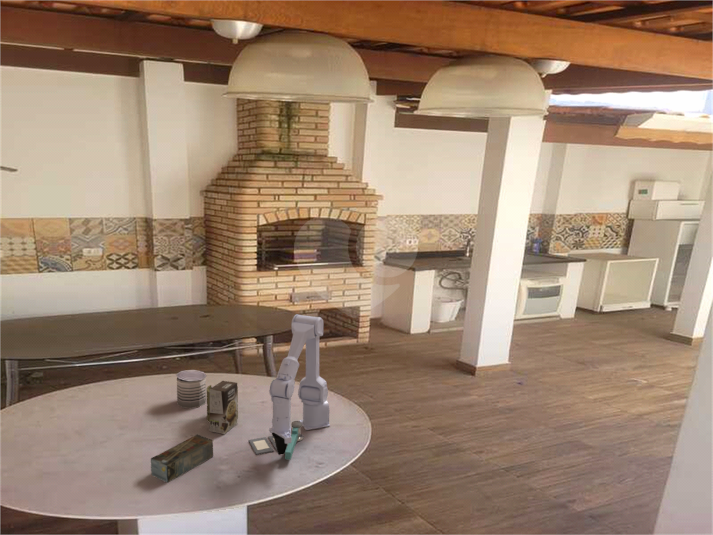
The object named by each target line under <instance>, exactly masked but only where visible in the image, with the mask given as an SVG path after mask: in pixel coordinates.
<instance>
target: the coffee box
mask: <svg viewBox="0 0 713 535" xmlns="http://www.w3.org/2000/svg"><path fill="white" fill-rule="evenodd" d="M237 386H238V382H234V381H229V380H228V381H226V380H221V381H220V382H219V383H217V384H215V385H214V386H211V387H212V388H210V423H209V432H212V433H218V434H222V435H226V434H227V433H228V432H230V430H231V429H233V428H234V427H235V426H237V425H238V419H237V404H238V403H237Z"/></svg>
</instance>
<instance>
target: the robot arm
mask: <svg viewBox="0 0 713 535" xmlns="http://www.w3.org/2000/svg"><path fill="white" fill-rule="evenodd" d="M290 328H291V333H292V338H291V342H290V344H289V345H290V346H289V349H288V354H287V356H286V357H284V358H283V359H282V360H281V364H280V367H279V369H278V372H277V373H276V374H277V375H276V378H275V379H272V381H271V383H270V386H269V391H268V392H269V396H270V401H271V402H272V418H271V419H272V420H271V425H272V426H271V427H269V429H268V431H269V434H271V436H273V438H274V440H275V443H276V448H277V451H276V452H277V455H278V456H281V455H285V451H286V447H287V444H288V443H291V434H292V426H291V413H292V411H291V406H292V405H291V404H292V401H291V400H292V397H293V394H294V392H295V384H296V381H295V379H296V376H297V374H298V373H297V372H298V370H299V367H300V363H299V361H298V359H299V358H300V355H301V353H302V352H303V350H304V349H303V348H304V347H305V376H304V377H302V379H301V380H300V382H299V384H298V385H299V386H298V392H297V395H298V398H299V400H301V403H302V419H299V420H298V421H300V422H302V427H303V428H304V430H305V431H309V430H311V431H312V430H315V429H321V428H327V427H330V426H331V424H330V404H329V402H328V400H327V399H328V395H329V389H328V384H327V381H326V380H325V378H323V377H321V376H320V337H322V336H324V319H323V318H322V317H321V316H312V315H311V316H310V315H303V314H298V313H297V314H295V315H293V317H292V319H291V327H290Z"/></svg>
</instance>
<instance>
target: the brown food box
mask: <svg viewBox="0 0 713 535" xmlns="http://www.w3.org/2000/svg"><path fill="white" fill-rule="evenodd" d="M212 387H213V386H212V384H210V385H208V386H206V421H207V420H208V421H209V422H210V388H212ZM238 388H239V387H238V385H237V420H238V418H239V404H238V403H239V389H238ZM208 421H207V422H208ZM209 422H208V423H209Z"/></svg>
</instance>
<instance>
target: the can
mask: <svg viewBox="0 0 713 535" xmlns="http://www.w3.org/2000/svg"><path fill="white" fill-rule="evenodd" d="M175 376H176V395H177V396H176V398H177V401H176V402H177V406H178V405H179V406H178V407H180V408H181V407H183V408H182V409H189V408H191V409H196V408H195V407H197V408H200V406H201V407H202V406H204V405H205V404H206V405H207V376H208V375H207V374H206V373H205V372H204V371H202V370H196V369H187V370H181V371H179V372H178V373H176V374H175Z"/></svg>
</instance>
